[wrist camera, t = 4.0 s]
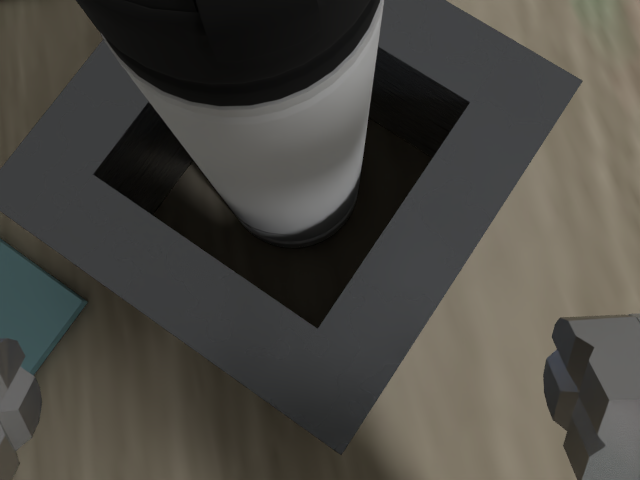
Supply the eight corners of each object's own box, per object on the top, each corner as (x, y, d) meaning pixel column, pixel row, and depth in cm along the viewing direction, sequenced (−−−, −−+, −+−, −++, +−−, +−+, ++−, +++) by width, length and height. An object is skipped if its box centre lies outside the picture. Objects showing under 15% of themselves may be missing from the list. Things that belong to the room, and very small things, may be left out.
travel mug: (252, 272, 28) (54, 94, 8) (214, 146, 29) (-37, -270, 10) (378, 232, 28) (473, -34, 9) (335, 108, 29) (332, -377, 10)
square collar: (523, 144, 29) (582, 80, 22) (340, 427, 27) (341, 454, 20) (256, -19, 31) (232, -124, 24) (65, 232, 29) (-21, 195, 22)
